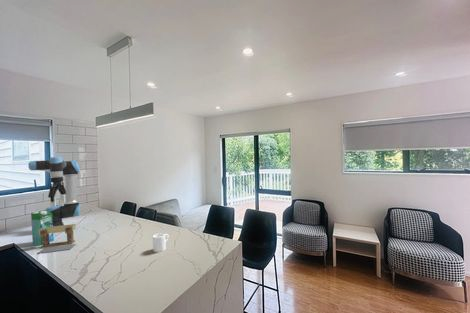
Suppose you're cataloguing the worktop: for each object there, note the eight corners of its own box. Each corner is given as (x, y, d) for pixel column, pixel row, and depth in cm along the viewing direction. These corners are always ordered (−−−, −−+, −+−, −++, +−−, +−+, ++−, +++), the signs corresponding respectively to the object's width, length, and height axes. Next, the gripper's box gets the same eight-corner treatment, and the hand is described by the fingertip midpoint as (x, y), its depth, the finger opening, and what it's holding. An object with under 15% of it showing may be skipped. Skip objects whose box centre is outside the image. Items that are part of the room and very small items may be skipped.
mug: (172, 246, 151) (172, 232, 151) (158, 253, 141) (157, 238, 141) (165, 244, 155) (164, 230, 155) (150, 250, 146) (150, 236, 146)
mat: (44, 248, 157) (44, 248, 157) (76, 244, 162) (76, 243, 162) (37, 254, 149) (36, 253, 149) (70, 249, 154) (70, 248, 154)
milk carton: (41, 245, 165) (40, 213, 165) (32, 244, 167) (31, 213, 166) (53, 240, 174) (52, 210, 173) (45, 240, 175) (43, 210, 175)
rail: (39, 234, 159) (38, 229, 159) (42, 232, 163) (42, 227, 163) (73, 230, 165) (72, 225, 165) (75, 229, 169) (75, 224, 169)
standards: (45, 244, 165) (45, 228, 165) (75, 241, 170) (74, 224, 170) (40, 248, 158) (39, 231, 158) (71, 244, 163) (70, 227, 163)
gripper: (59, 176, 176) (60, 201, 176) (41, 178, 152) (42, 208, 152) (70, 175, 178) (71, 200, 178) (53, 177, 154) (55, 207, 154)
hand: (58, 204), depth 165 cm, fingers open, 13 cm apart
